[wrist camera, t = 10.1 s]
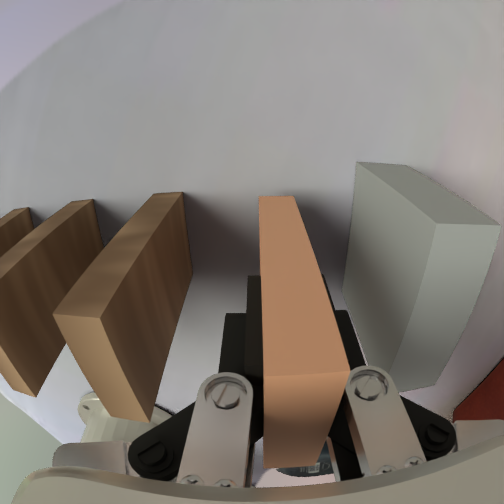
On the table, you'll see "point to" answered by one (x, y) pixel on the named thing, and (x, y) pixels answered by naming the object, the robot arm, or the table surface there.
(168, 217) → the domino
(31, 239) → the domino
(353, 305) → the block
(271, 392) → the domino end
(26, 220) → the domino
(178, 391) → the table surface
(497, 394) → the plant pot
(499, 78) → the table surface
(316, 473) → the electronic device
